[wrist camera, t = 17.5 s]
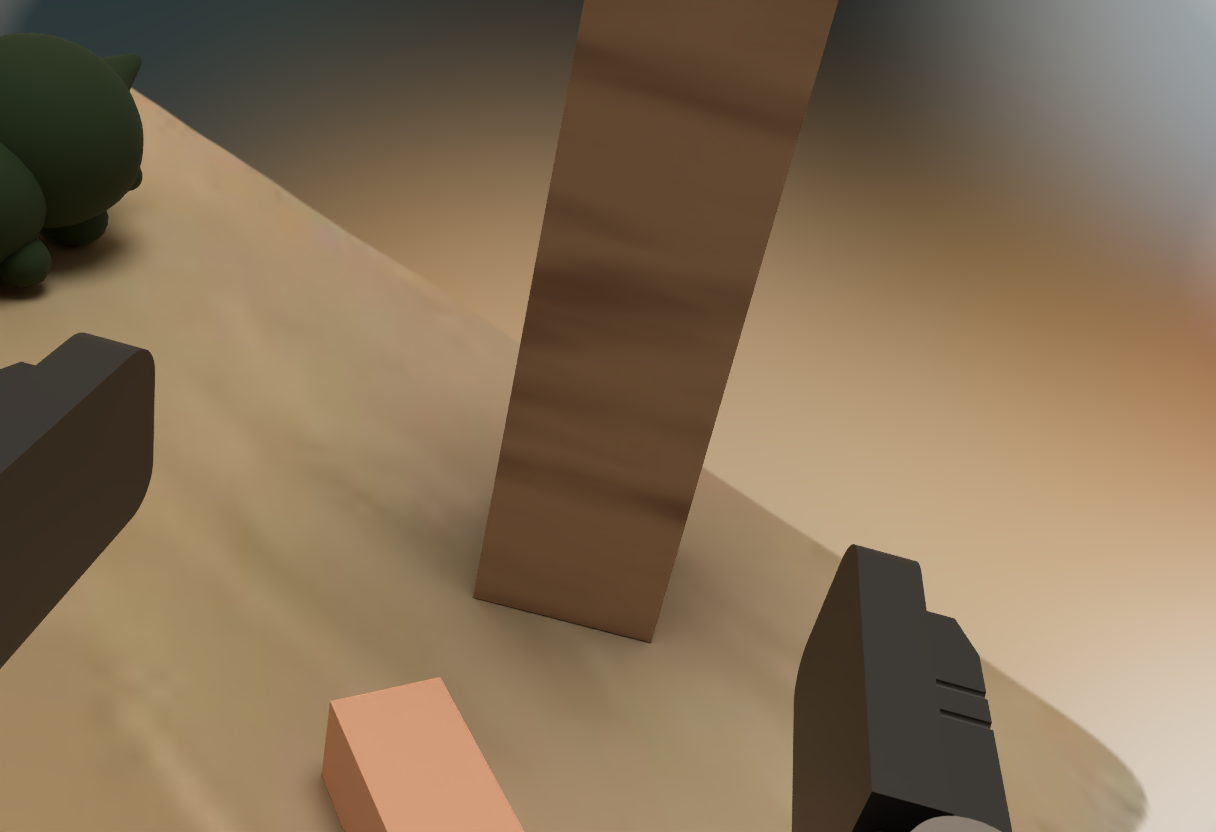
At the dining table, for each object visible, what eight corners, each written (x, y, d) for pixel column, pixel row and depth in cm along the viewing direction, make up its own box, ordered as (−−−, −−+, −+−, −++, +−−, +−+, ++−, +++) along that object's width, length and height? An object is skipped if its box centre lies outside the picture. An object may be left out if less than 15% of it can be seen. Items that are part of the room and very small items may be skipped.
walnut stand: (686, 669, 44) (1092, -609, 25) (428, 603, 44) (641, -712, 25) (703, 534, 51) (1022, -519, 33) (484, 478, 52) (677, -597, 33)
